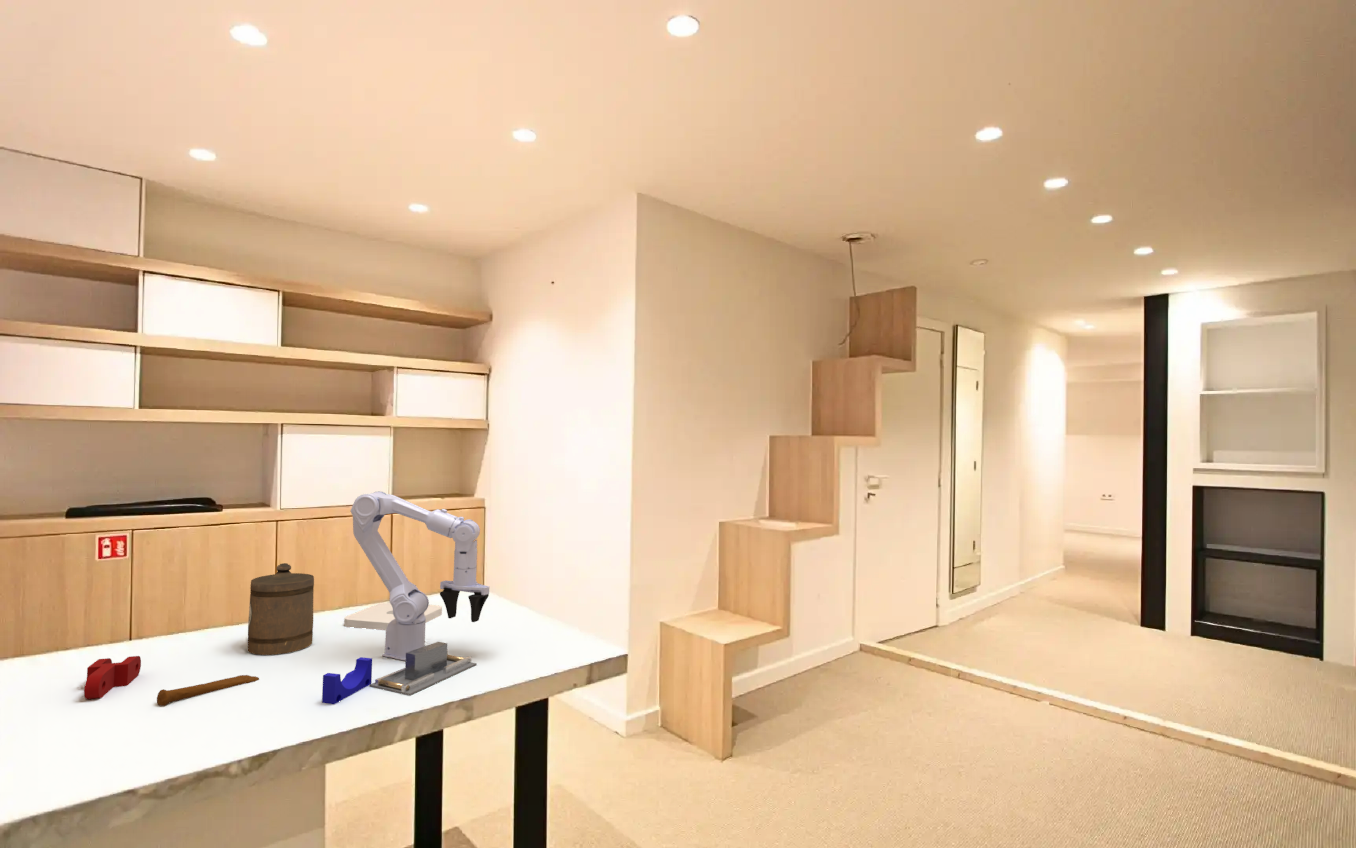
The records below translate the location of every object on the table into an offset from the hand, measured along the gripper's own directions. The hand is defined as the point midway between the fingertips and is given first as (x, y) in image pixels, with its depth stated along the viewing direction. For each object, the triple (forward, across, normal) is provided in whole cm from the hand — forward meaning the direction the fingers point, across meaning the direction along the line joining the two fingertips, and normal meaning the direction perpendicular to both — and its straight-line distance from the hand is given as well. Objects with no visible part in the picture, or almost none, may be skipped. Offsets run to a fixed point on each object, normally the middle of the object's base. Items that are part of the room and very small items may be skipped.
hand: (463, 619), depth 171 cm
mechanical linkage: (+10, +54, +52) cm, 75 cm away
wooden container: (+10, +47, +16) cm, 51 cm away
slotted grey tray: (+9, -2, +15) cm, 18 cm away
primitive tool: (+10, +33, +43) cm, 55 cm away
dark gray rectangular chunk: (+9, -2, +15) cm, 18 cm away
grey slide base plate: (+9, -2, +15) cm, 18 cm away
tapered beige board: (+10, +41, -17) cm, 46 cm away
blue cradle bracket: (+10, +6, +31) cm, 33 cm away
